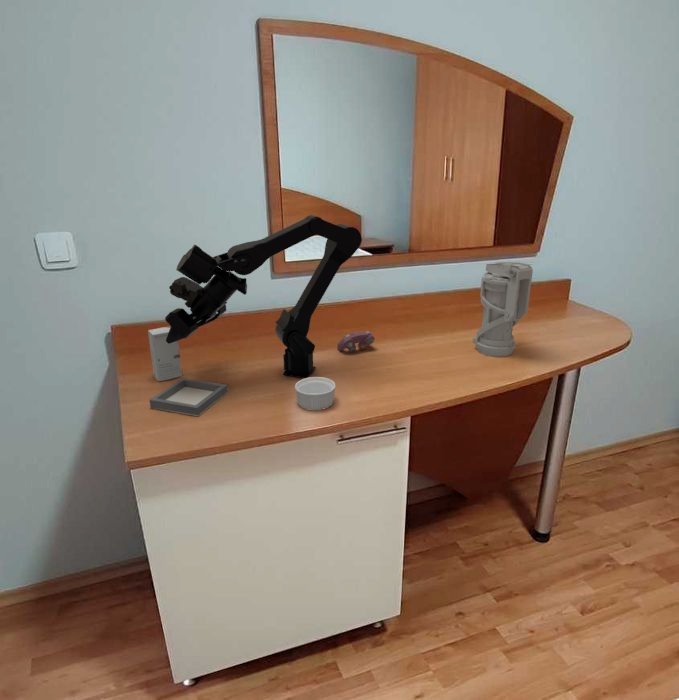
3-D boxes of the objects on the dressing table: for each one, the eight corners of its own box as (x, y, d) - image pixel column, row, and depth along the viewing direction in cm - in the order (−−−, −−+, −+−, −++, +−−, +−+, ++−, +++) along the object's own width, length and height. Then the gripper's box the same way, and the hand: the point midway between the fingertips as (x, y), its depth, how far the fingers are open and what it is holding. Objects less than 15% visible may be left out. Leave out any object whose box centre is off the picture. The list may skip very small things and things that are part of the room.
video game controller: (341, 358, 141) (345, 341, 136) (334, 347, 144) (339, 329, 139) (372, 353, 145) (378, 335, 140) (366, 341, 148) (371, 324, 143)
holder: (227, 392, 118) (227, 384, 117) (197, 416, 108) (196, 408, 107) (183, 385, 122) (182, 377, 121) (150, 408, 111) (149, 399, 111)
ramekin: (339, 409, 110) (339, 391, 109) (298, 414, 108) (297, 395, 107) (331, 392, 118) (331, 375, 117) (293, 396, 117) (292, 378, 115)
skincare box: (158, 382, 124) (151, 335, 119) (153, 376, 127) (146, 329, 123) (183, 376, 127) (177, 330, 123) (178, 370, 130) (172, 325, 126)
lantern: (467, 347, 144) (475, 258, 135) (496, 341, 148) (505, 255, 139) (499, 363, 133) (510, 267, 124) (529, 356, 137) (542, 263, 128)
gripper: (210, 259, 123) (174, 300, 130) (167, 276, 106) (129, 323, 113) (243, 292, 124) (206, 332, 131) (206, 315, 107) (165, 359, 114)
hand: (178, 335), depth 122 cm, fingers open, 9 cm apart
